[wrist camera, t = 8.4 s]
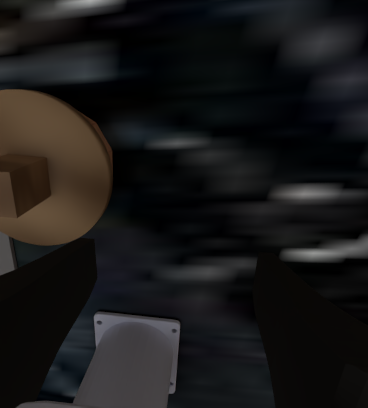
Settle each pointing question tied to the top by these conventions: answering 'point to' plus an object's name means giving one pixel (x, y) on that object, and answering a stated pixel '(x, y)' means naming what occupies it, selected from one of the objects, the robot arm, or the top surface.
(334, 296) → the top surface
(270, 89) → the top surface
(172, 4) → the top surface
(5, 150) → the lid
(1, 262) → the mat
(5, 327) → the robot arm
